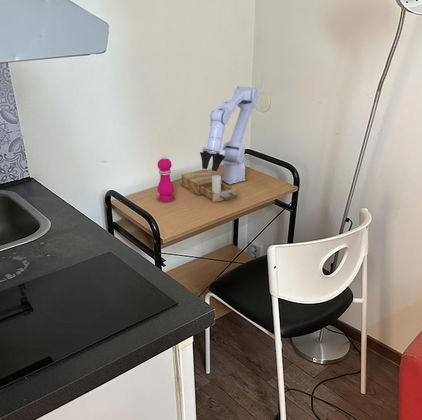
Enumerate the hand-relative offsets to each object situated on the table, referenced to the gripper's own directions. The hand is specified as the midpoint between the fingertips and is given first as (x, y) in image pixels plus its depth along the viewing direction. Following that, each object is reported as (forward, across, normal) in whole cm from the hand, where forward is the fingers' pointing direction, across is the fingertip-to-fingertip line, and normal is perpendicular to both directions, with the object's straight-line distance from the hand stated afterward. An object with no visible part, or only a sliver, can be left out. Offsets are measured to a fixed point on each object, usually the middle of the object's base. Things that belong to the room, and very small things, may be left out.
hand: (209, 169), depth 190 cm
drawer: (+10, +2, +6) cm, 12 cm away
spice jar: (+9, 0, +6) cm, 10 cm away
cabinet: (+8, -12, +6) cm, 16 cm away
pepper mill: (+16, -10, -13) cm, 23 cm away
